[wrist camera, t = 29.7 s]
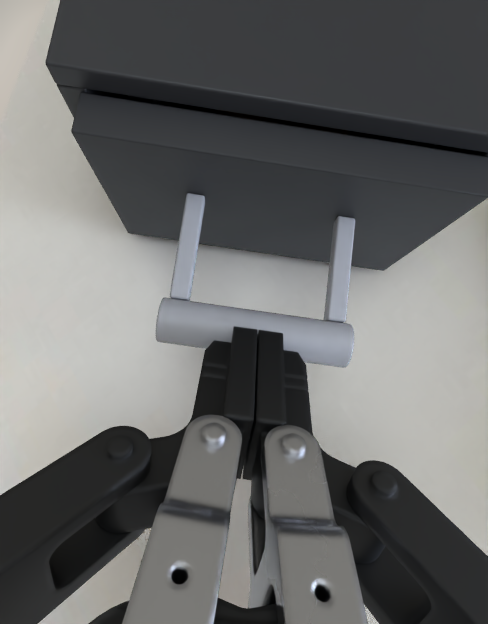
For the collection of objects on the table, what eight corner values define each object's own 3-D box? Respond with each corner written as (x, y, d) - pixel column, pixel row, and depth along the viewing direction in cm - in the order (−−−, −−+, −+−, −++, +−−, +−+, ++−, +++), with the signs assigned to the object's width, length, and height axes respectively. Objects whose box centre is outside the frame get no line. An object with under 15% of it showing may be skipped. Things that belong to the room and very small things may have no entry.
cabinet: (391, 253, 21) (535, 142, 11) (123, 213, 20) (43, 63, 11) (411, -11, 23) (543, -279, 14) (173, -52, 23) (144, -358, 14)
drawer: (375, 381, 19) (483, 377, 11) (107, 344, 18) (29, 313, 11) (404, 10, 22) (504, -189, 14) (177, -28, 22) (155, -255, 14)
